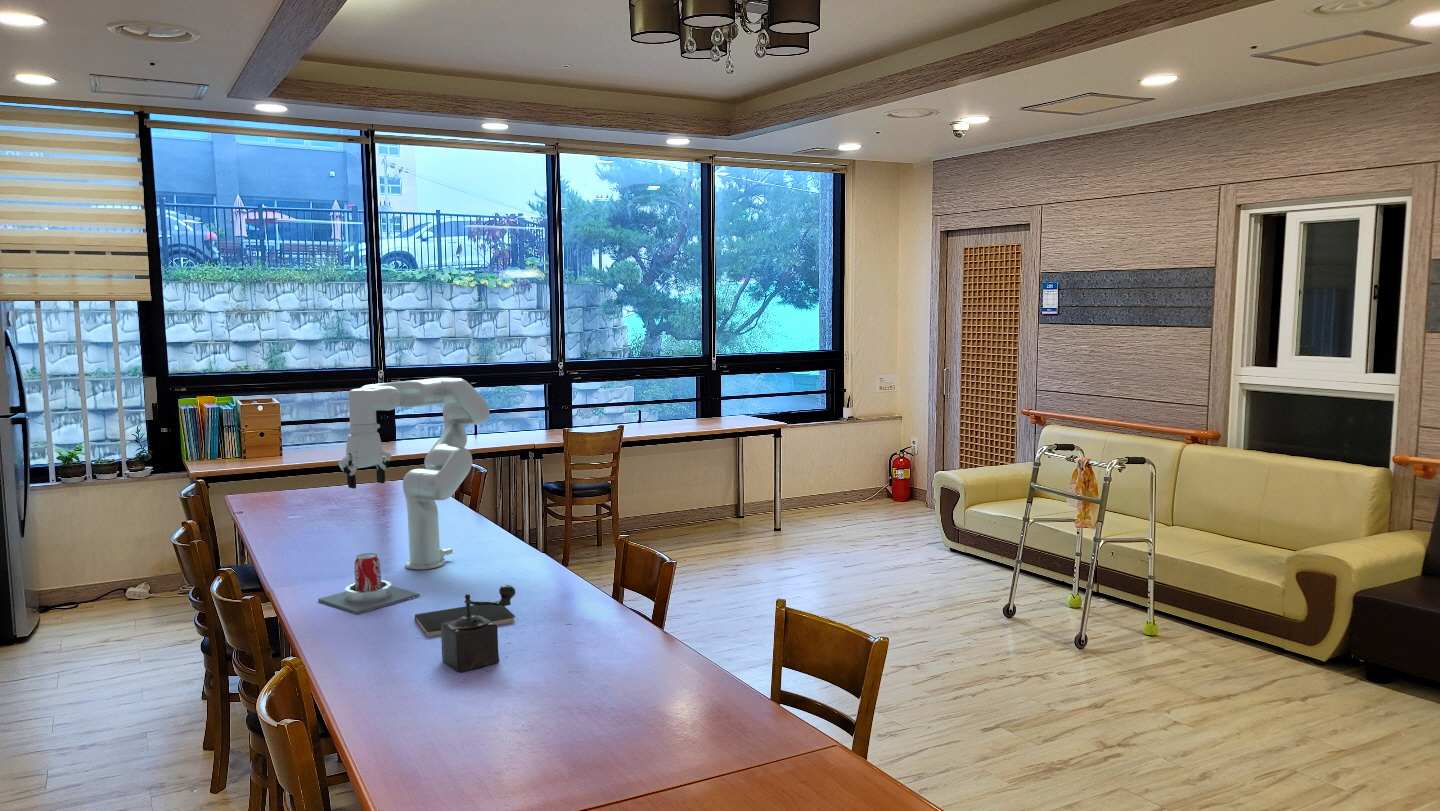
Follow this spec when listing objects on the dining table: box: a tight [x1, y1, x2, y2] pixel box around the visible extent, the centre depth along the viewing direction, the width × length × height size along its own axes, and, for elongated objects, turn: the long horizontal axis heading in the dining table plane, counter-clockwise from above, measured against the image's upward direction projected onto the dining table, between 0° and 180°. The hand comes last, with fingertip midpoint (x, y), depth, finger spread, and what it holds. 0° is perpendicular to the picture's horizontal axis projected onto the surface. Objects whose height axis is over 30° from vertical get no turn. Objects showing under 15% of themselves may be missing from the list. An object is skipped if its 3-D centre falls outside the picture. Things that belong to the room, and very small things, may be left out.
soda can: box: [354, 552, 382, 591], centre depth 288 cm, size 7×7×12 cm
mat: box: [318, 585, 420, 615], centre depth 289 cm, size 20×20×1 cm
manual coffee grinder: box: [440, 584, 516, 674], centre depth 238 cm, size 16×11×18 cm
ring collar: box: [345, 579, 392, 603], centre depth 289 cm, size 12×12×3 cm
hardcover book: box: [414, 600, 516, 637], centre depth 268 cm, size 16×23×2 cm
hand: (366, 485), depth 302 cm, fingers open, 9 cm apart
